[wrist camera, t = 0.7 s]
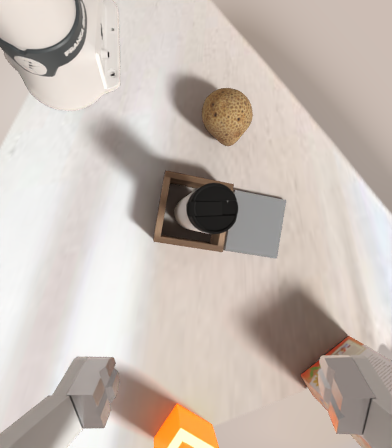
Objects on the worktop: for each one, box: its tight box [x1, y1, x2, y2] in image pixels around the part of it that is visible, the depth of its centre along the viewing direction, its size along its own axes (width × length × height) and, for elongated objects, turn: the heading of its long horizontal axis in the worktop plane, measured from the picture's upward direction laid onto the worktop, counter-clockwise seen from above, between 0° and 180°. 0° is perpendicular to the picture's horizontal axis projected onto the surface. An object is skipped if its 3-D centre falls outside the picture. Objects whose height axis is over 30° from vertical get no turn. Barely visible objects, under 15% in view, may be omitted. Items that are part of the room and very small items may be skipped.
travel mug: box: [174, 183, 238, 234], centre depth 39 cm, size 6×7×20 cm
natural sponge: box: [202, 88, 253, 146], centre depth 45 cm, size 9×9×10 cm
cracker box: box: [301, 336, 392, 448], centre depth 45 cm, size 14×6×21 cm, turn 122°
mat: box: [224, 190, 286, 258], centre depth 51 cm, size 12×11×1 cm
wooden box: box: [153, 171, 234, 252], centre depth 46 cm, size 12×12×6 cm
